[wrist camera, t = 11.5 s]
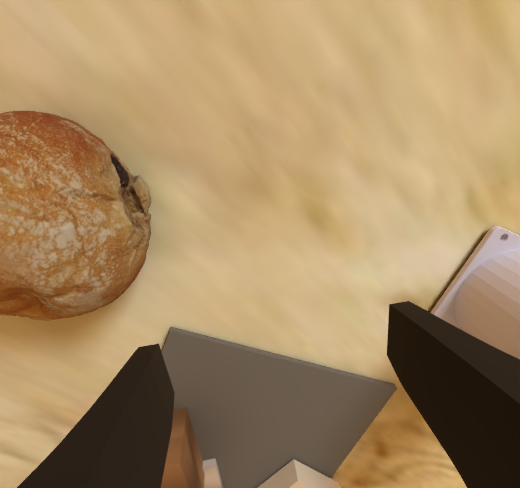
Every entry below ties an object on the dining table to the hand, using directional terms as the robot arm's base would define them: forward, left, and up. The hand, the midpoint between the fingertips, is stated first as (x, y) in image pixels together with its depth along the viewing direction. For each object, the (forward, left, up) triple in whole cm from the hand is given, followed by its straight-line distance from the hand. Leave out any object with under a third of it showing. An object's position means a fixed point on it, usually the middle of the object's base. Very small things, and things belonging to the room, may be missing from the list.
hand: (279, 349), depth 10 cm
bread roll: (+10, +3, -10) cm, 15 cm away
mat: (-6, +19, -10) cm, 22 cm away
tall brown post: (-3, +21, -9) cm, 23 cm away
